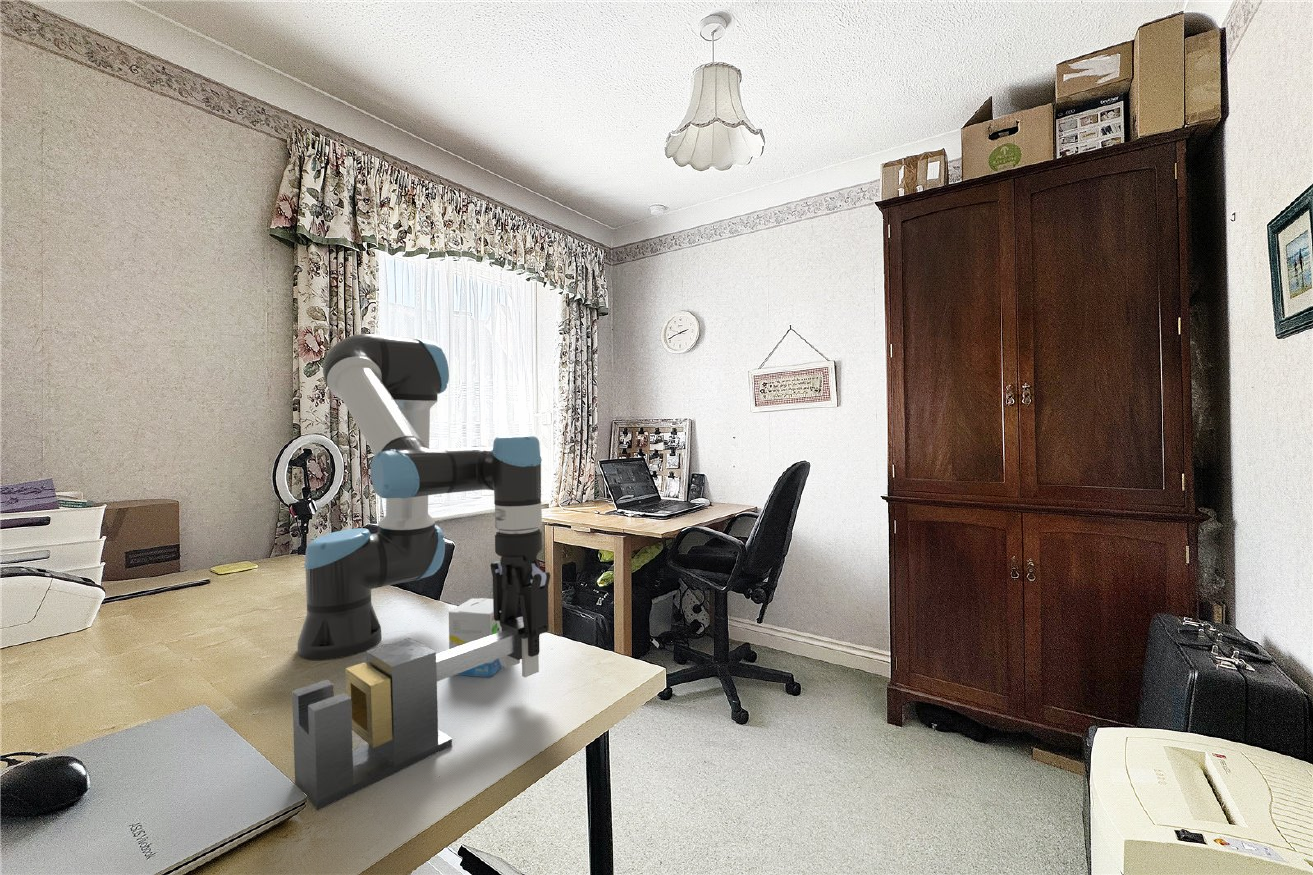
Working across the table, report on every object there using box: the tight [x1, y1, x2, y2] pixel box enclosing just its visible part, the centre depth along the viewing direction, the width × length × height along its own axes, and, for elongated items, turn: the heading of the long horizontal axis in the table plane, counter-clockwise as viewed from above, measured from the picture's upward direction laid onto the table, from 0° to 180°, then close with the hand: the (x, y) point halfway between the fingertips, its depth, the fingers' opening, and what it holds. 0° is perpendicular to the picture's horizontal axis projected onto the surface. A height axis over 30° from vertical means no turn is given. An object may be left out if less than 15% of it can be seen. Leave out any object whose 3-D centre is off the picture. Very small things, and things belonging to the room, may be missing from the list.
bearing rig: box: [291, 637, 453, 811], centre depth 74 cm, size 8×17×14 cm, turn 139°
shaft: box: [436, 616, 532, 682], centre depth 84 cm, size 4×24×5 cm, turn 139°
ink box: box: [448, 597, 504, 678], centre depth 104 cm, size 8×8×12 cm
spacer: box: [345, 661, 392, 748], centre depth 73 cm, size 8×2×8 cm, turn 50°
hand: (521, 669), depth 91 cm, fingers closed on shaft, 4 cm apart
